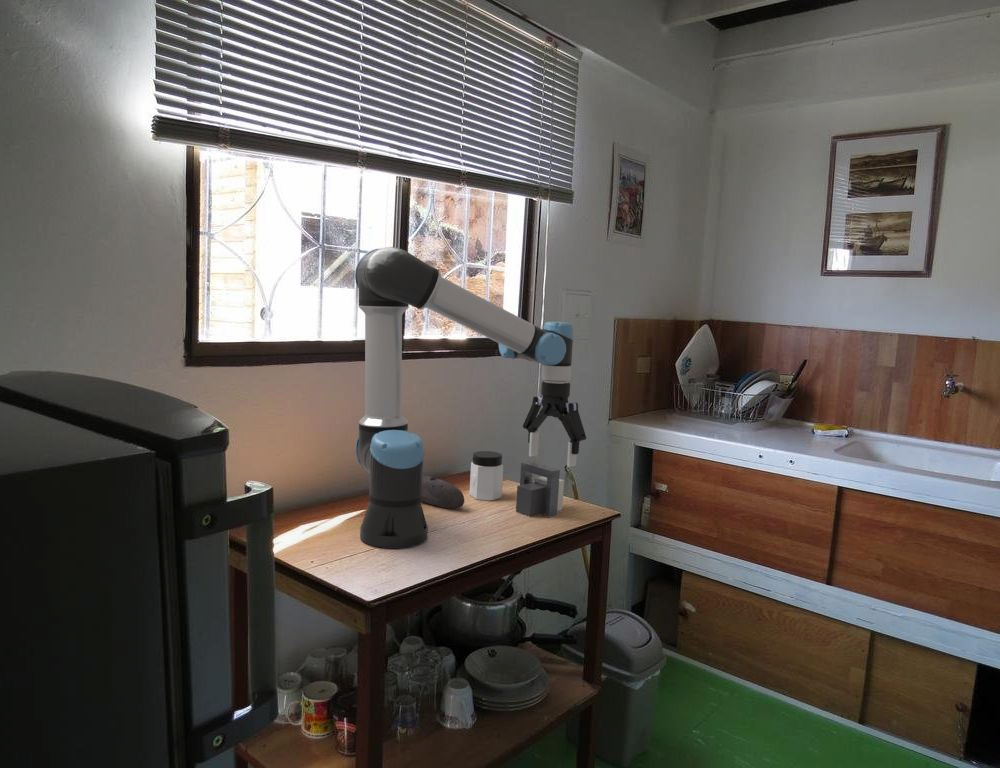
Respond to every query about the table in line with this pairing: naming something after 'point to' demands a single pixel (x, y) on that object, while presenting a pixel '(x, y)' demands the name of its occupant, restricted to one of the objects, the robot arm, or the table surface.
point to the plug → (536, 497)
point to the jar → (486, 475)
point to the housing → (552, 483)
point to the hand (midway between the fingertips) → (551, 461)
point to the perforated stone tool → (441, 493)
